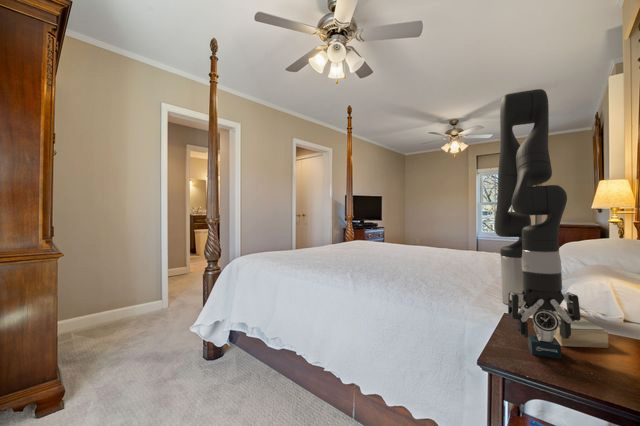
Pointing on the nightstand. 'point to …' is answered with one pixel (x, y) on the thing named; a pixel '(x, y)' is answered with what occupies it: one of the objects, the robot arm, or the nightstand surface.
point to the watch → (545, 335)
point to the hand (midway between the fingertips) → (543, 336)
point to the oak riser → (584, 335)
